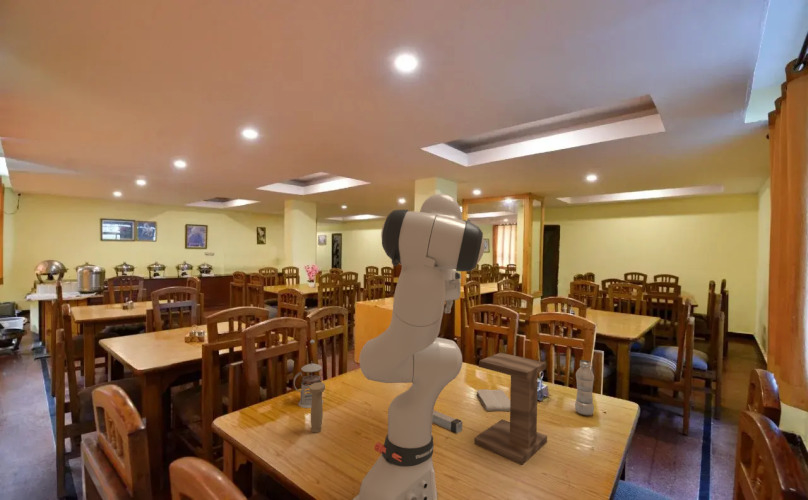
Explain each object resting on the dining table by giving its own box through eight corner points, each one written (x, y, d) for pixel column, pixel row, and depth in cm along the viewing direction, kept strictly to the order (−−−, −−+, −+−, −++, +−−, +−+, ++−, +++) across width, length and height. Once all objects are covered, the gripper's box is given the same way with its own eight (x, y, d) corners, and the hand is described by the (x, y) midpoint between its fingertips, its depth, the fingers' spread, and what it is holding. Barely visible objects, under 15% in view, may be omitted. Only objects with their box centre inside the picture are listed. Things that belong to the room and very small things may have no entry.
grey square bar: (457, 433, 120) (457, 424, 120) (408, 412, 135) (408, 404, 135) (462, 430, 122) (462, 421, 122) (414, 410, 137) (414, 401, 137)
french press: (325, 406, 139) (326, 341, 139) (294, 410, 135) (295, 344, 135) (321, 396, 148) (322, 336, 148) (292, 400, 144) (293, 338, 144)
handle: (306, 435, 117) (307, 389, 117) (312, 425, 123) (313, 382, 123) (320, 436, 116) (321, 389, 116) (326, 426, 123) (327, 382, 123)
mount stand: (522, 465, 102) (523, 374, 103) (474, 443, 113) (475, 361, 114) (547, 441, 115) (548, 361, 116) (501, 424, 126) (503, 351, 127)
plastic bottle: (574, 415, 135) (575, 362, 135) (575, 408, 141) (576, 358, 141) (593, 419, 132) (594, 365, 132) (593, 412, 138) (594, 360, 138)
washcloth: (501, 394, 155) (502, 387, 155) (516, 413, 137) (516, 405, 137) (474, 394, 155) (475, 387, 155) (486, 413, 137) (486, 405, 137)
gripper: (427, 276, 114) (427, 319, 114) (463, 274, 129) (463, 312, 129) (413, 275, 119) (412, 316, 119) (449, 273, 134) (449, 310, 133)
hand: (439, 314), depth 124 cm, fingers open, 8 cm apart
